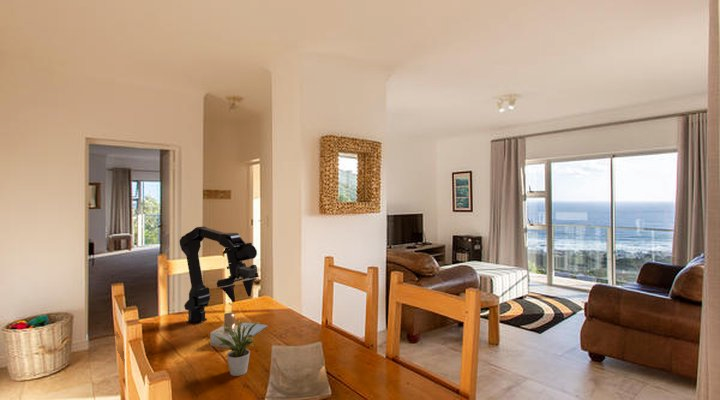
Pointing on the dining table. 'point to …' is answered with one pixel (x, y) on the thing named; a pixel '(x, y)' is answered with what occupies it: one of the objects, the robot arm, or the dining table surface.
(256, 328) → the mat
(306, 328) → the dining table surface
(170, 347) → the dining table surface
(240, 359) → the house plant
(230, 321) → the cover
